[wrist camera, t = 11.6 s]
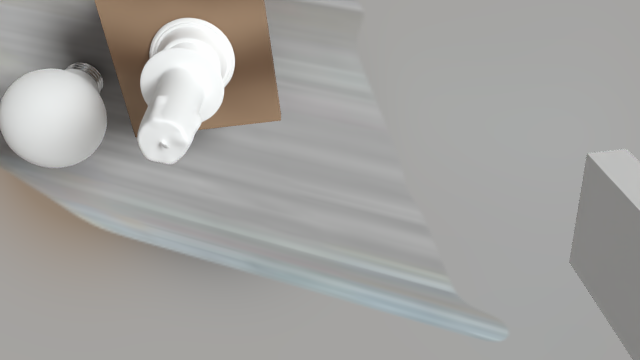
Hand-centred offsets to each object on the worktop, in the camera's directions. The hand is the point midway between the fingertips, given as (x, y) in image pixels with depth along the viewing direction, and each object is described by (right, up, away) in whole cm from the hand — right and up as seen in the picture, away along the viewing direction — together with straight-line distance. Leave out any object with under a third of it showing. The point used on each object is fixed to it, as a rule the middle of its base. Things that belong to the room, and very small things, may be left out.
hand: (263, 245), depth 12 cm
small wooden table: (-7, +13, +32) cm, 36 cm away
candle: (-7, +9, +25) cm, 28 cm away
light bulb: (-17, +10, +34) cm, 39 cm away
